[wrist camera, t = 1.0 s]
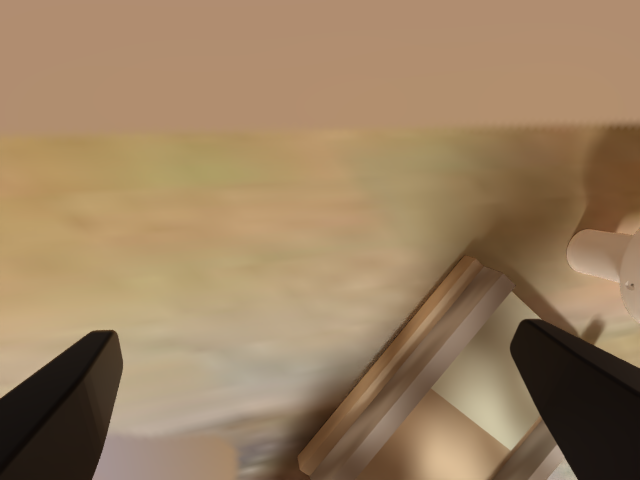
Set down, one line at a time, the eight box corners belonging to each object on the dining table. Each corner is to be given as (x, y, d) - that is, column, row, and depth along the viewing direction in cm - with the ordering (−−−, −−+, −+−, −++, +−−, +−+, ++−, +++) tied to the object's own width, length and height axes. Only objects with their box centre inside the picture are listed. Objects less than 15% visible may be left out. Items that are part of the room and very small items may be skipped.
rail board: (442, 548, 27) (465, 592, 24) (297, 456, 24) (303, 493, 21) (589, 371, 27) (629, 393, 24) (464, 254, 24) (494, 264, 21)
